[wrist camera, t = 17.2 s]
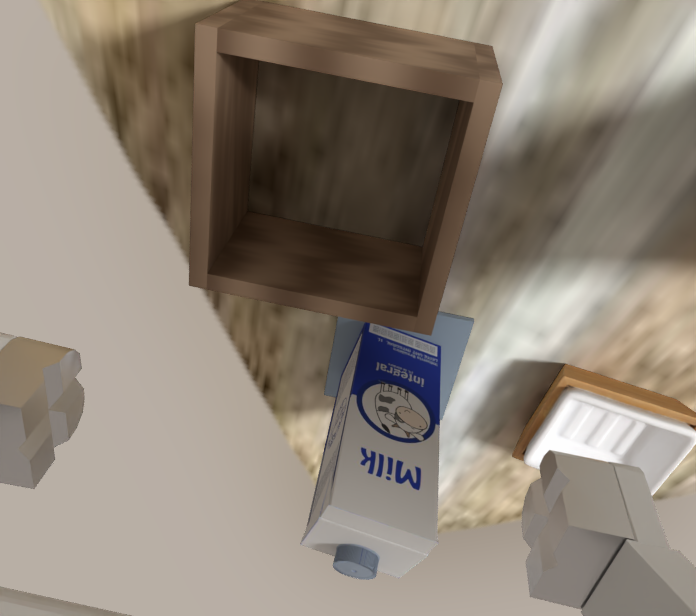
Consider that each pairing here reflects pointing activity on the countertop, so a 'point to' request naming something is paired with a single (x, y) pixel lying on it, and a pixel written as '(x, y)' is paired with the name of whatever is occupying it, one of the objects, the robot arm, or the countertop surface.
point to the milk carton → (381, 458)
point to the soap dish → (609, 425)
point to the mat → (446, 334)
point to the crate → (311, 240)
